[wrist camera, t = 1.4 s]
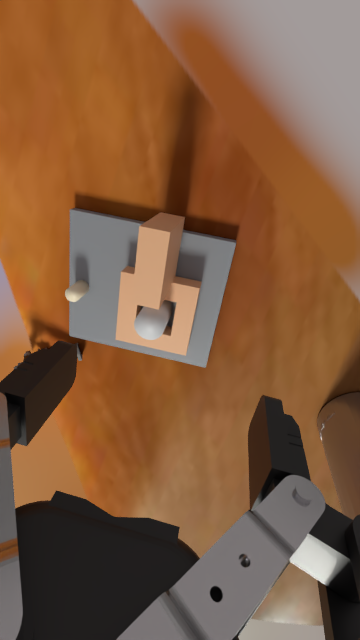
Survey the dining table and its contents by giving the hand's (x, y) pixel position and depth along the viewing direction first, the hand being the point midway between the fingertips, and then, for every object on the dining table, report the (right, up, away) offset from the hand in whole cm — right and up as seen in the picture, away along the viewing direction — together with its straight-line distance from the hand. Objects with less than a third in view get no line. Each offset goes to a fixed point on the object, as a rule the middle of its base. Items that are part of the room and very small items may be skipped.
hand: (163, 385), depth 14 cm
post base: (-3, +6, +23) cm, 24 cm away
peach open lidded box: (-1, +7, +20) cm, 21 cm away
